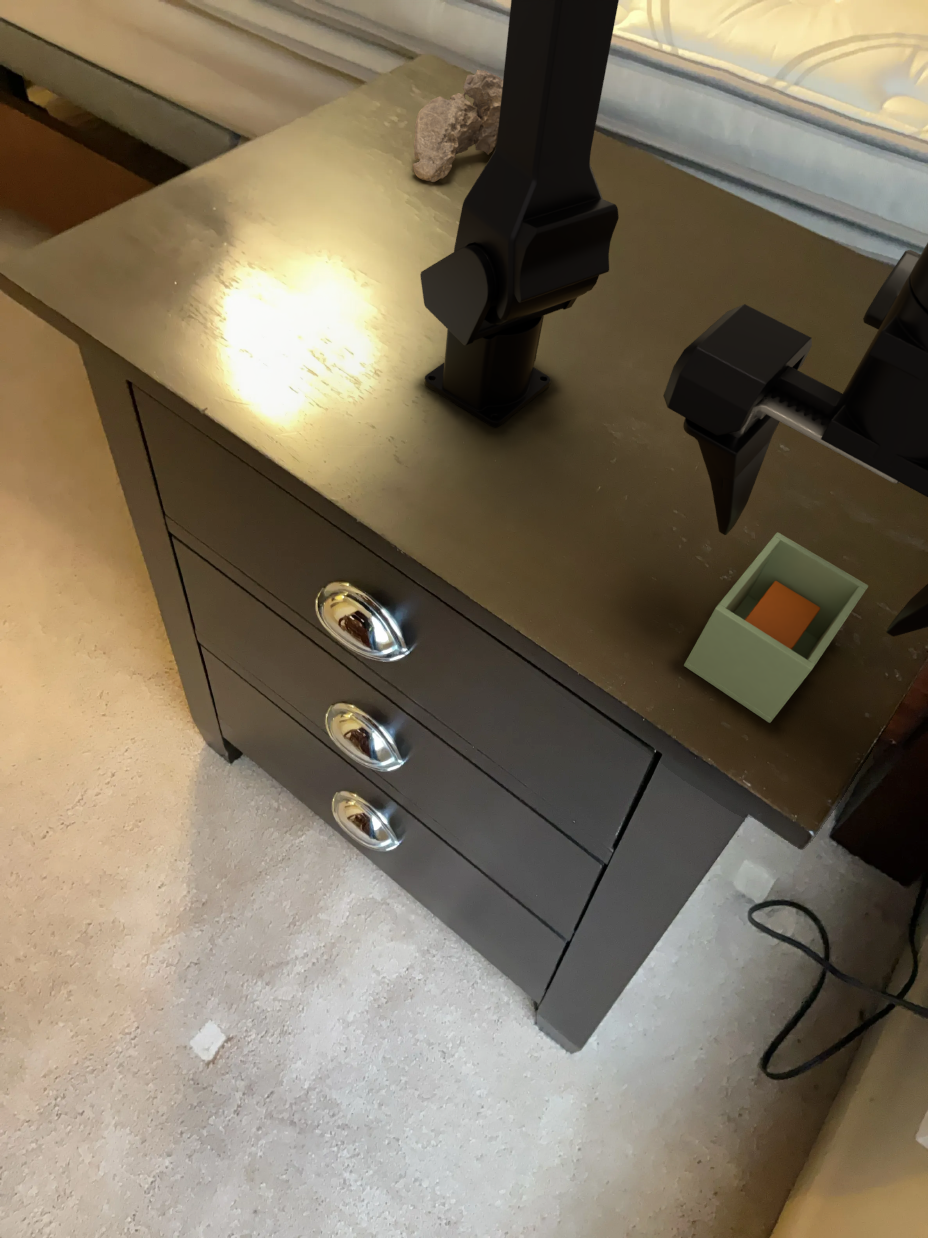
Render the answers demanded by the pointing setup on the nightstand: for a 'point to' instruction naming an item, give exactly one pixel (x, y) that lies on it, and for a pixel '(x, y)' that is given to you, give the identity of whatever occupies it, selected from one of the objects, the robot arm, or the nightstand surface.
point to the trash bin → (752, 657)
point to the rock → (457, 125)
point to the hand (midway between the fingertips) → (806, 577)
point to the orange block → (783, 614)
